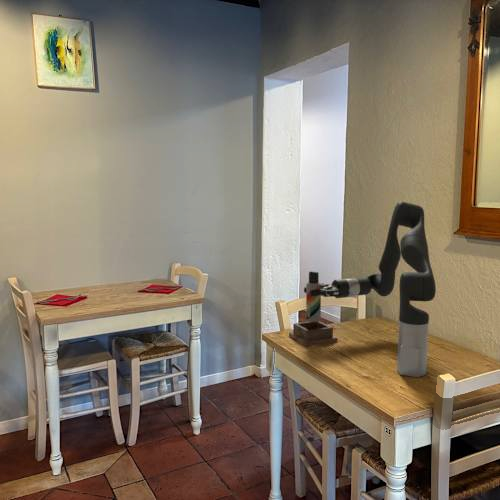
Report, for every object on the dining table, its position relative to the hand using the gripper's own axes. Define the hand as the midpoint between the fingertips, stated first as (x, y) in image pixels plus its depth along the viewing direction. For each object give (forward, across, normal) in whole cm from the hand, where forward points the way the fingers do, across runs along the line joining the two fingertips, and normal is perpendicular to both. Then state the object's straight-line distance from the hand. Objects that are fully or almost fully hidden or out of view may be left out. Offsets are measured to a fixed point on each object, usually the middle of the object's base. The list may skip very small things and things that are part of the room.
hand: (307, 291), depth 191 cm
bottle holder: (-2, 0, +20) cm, 20 cm away
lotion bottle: (-3, 0, +12) cm, 12 cm away
